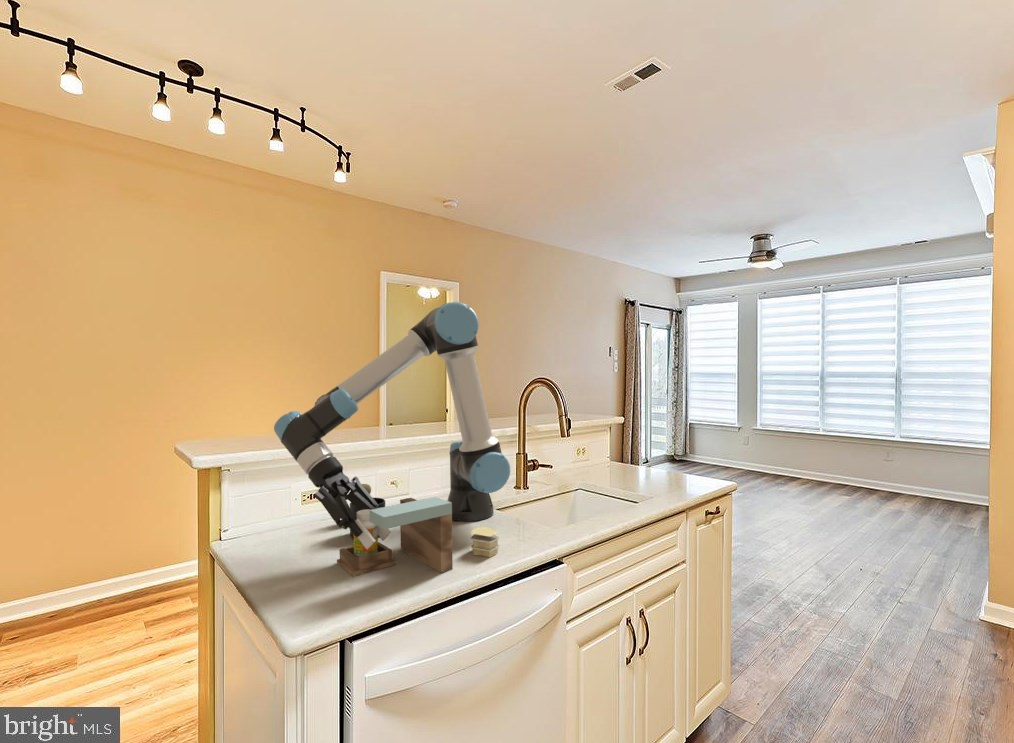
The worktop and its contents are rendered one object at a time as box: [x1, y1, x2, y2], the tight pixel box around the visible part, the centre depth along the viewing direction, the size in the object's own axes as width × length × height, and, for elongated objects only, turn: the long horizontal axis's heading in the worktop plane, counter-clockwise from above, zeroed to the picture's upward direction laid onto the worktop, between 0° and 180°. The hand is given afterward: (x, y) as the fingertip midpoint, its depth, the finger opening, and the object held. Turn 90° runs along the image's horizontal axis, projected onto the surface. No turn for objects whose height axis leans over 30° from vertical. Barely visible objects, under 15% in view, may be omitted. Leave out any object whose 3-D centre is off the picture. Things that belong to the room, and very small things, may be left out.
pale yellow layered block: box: [470, 526, 500, 558], centre depth 120 cm, size 10×9×6 cm
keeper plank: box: [370, 496, 452, 530], centre depth 107 cm, size 16×7×2 cm, turn 130°
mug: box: [349, 497, 386, 540], centre depth 133 cm, size 9×12×9 cm
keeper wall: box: [399, 497, 454, 573], centre depth 116 cm, size 3×19×12 cm, turn 40°
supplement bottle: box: [353, 509, 379, 557], centre depth 114 cm, size 5×5×10 cm
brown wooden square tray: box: [336, 541, 397, 577], centre depth 114 cm, size 10×10×3 cm
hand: (379, 540), depth 112 cm, fingers closed on supplement bottle, 5 cm apart
